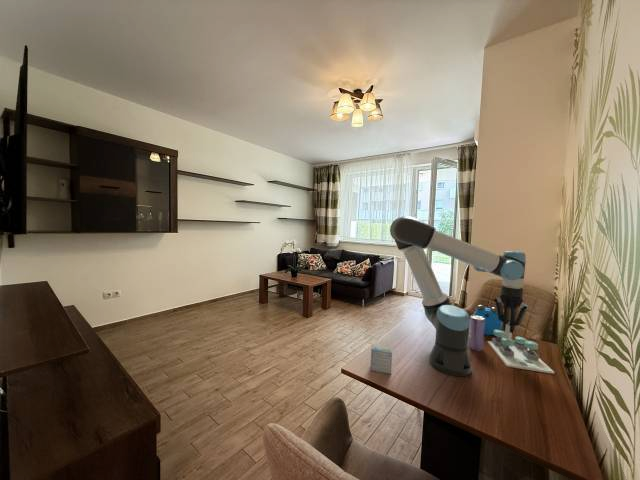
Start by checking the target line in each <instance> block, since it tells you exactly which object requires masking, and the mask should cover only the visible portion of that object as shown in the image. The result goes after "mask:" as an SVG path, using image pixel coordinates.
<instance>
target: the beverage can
mask: <svg viewBox="0 0 640 480" xmlns="http://www.w3.org/2000/svg"><path fill="white" fill-rule="evenodd" d="M469 321H470V325H469V334H468V346H467V347H468V348H469V349H470V350H472V351H476V352H482V350H484V349H483V348H484V340H485V339H484V337H485V334H484V328H485V318H483V317H481V316H477V315H474V314H472V315H470V316H469Z"/></svg>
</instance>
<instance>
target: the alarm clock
mask: <svg viewBox="0 0 640 480" xmlns="http://www.w3.org/2000/svg"><path fill="white" fill-rule="evenodd" d="M474 309H475V311H474V313H473V315H477V316H481V317H483V318H485V328H484V335H485V336H493V335H494V330H501V329H502V328H503V322H502V321H500V320H499V318H498V312H497V307H496V306H491V307H490V306H487V307H486V306H485V305H484V304H477V305H476V306H475V307H474ZM501 331H502V330H501ZM494 336H495V335H494Z"/></svg>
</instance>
